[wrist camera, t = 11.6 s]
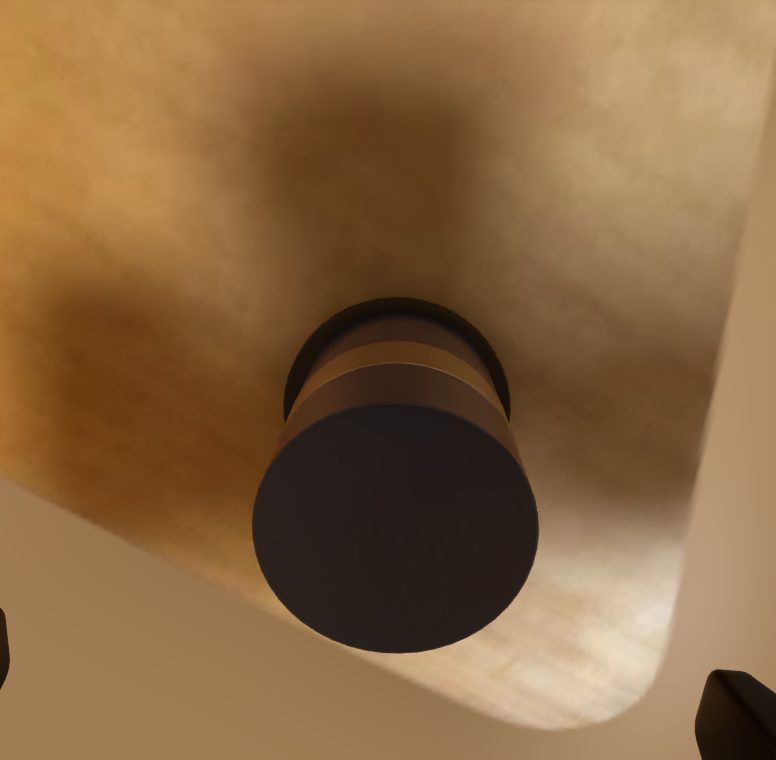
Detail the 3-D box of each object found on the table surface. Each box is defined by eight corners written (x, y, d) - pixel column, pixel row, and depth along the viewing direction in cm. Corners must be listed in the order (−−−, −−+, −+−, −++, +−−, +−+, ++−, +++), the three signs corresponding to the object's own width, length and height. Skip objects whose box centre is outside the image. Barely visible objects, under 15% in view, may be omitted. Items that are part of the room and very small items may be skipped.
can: (508, 320, 17) (563, 416, 11) (481, 498, 19) (516, 667, 13) (308, 301, 17) (254, 386, 11) (298, 481, 19) (245, 642, 13)
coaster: (523, 308, 18) (527, 313, 17) (491, 513, 20) (493, 523, 19) (292, 286, 18) (288, 290, 17) (282, 493, 20) (278, 503, 19)
